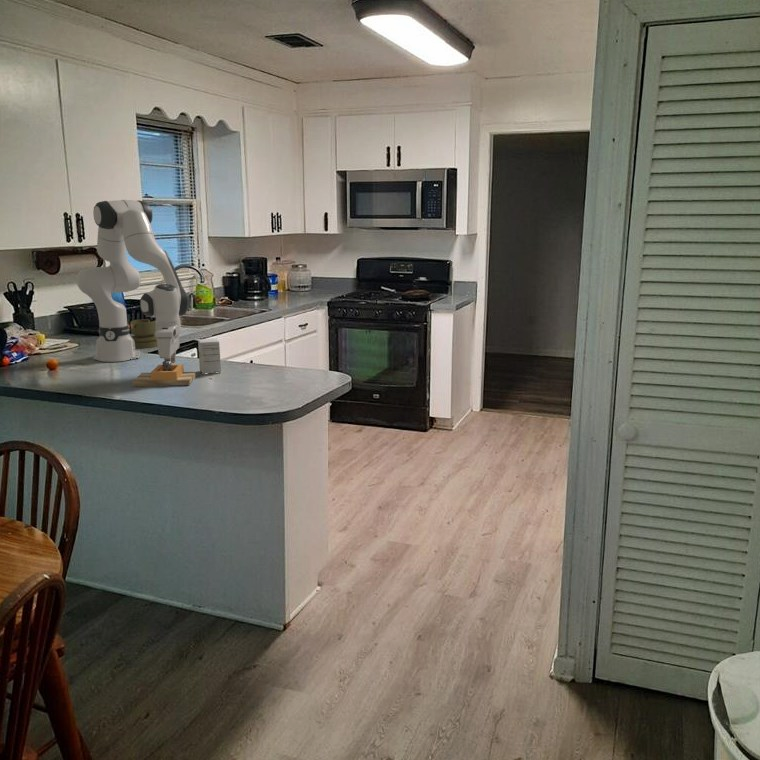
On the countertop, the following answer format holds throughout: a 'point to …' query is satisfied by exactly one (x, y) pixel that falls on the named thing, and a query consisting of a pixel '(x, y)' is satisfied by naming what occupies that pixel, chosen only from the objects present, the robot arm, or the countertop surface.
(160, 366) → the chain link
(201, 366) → the supplement box
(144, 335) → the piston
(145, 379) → the wooden board
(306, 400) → the countertop surface
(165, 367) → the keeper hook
